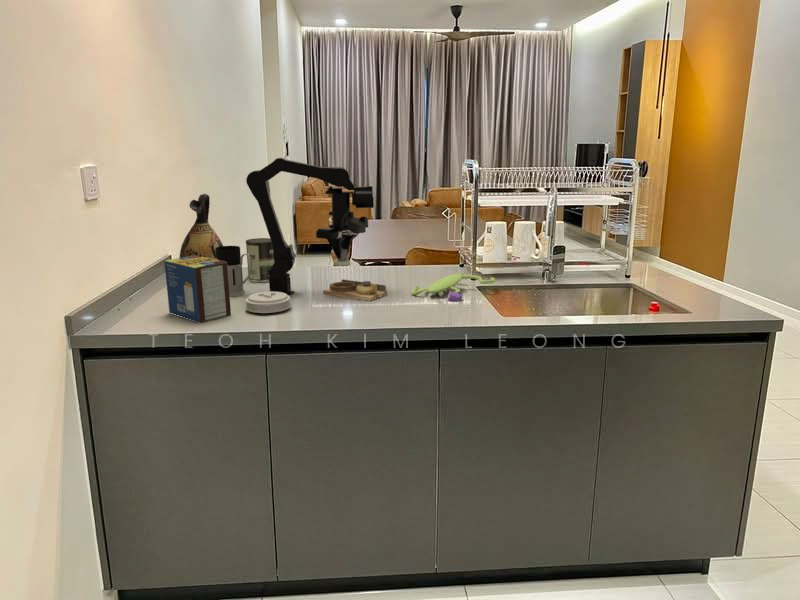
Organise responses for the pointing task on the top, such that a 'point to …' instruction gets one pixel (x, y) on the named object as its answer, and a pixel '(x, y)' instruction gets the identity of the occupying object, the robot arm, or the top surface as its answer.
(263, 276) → the printed mug
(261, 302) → the lid
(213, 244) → the ceramic jug
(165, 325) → the top surface
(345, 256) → the planet gear
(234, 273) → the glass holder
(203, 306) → the protein box
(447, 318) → the top surface
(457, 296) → the figurine
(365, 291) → the carrier board
